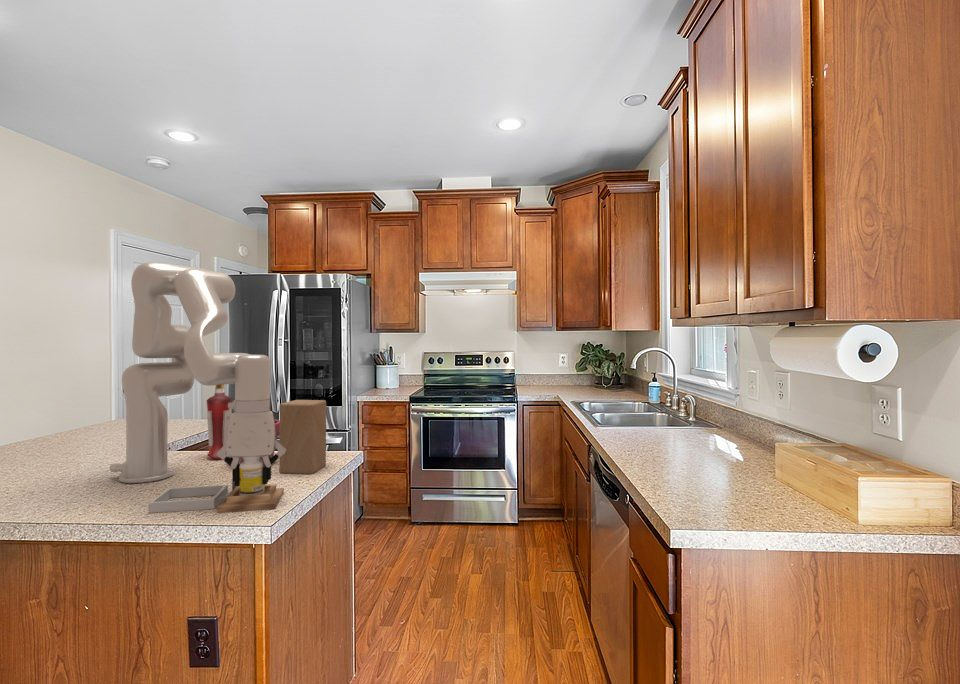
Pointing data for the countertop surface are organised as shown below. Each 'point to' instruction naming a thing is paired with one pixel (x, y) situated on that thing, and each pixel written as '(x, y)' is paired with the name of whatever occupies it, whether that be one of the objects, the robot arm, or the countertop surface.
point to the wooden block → (303, 436)
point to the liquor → (218, 420)
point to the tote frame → (184, 505)
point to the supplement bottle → (251, 476)
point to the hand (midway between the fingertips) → (252, 482)
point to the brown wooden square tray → (251, 500)
